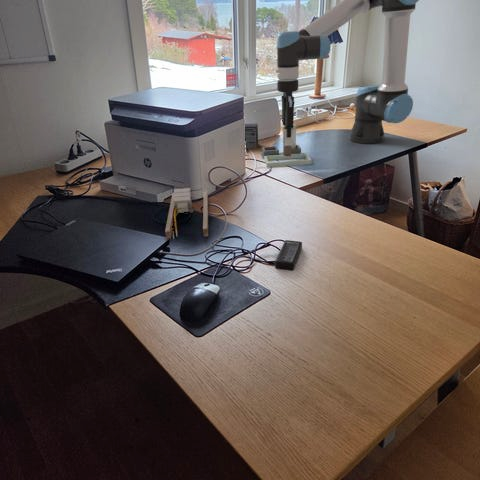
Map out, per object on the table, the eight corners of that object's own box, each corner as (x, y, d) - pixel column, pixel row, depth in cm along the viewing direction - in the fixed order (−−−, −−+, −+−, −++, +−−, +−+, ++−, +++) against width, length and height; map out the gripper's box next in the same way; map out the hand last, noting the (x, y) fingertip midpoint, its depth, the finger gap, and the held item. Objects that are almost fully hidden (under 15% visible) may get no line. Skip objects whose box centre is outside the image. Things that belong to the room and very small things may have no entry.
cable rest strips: (207, 197, 140) (207, 190, 139) (208, 236, 115) (207, 228, 114) (173, 199, 139) (172, 192, 138) (166, 239, 115) (165, 231, 113)
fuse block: (298, 153, 177) (298, 144, 175) (302, 158, 171) (302, 149, 169) (260, 156, 177) (260, 146, 175) (262, 161, 170) (262, 151, 169)
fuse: (295, 153, 175) (295, 123, 169) (296, 155, 172) (297, 125, 166) (287, 153, 175) (287, 124, 169) (288, 155, 172) (289, 126, 166)
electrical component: (194, 247, 117) (193, 232, 114) (173, 249, 117) (170, 234, 113) (192, 199, 135) (191, 185, 132) (173, 200, 135) (171, 187, 132)
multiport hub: (274, 269, 99) (274, 261, 98) (285, 247, 108) (285, 239, 107) (293, 272, 98) (293, 263, 97) (302, 249, 107) (302, 241, 106)
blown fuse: (290, 156, 166) (290, 125, 161) (292, 159, 163) (292, 127, 158) (282, 157, 166) (282, 126, 160) (283, 159, 163) (283, 128, 158)
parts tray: (306, 159, 170) (306, 153, 169) (311, 166, 162) (311, 160, 161) (264, 162, 170) (264, 155, 168) (267, 169, 162) (266, 163, 160)
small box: (258, 146, 190) (258, 122, 185) (257, 150, 184) (257, 126, 180) (235, 146, 191) (234, 123, 186) (233, 150, 186) (232, 126, 181)
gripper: (274, 77, 158) (274, 139, 169) (280, 83, 144) (281, 150, 155) (294, 75, 158) (293, 137, 169) (302, 82, 144) (301, 149, 155)
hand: (287, 143), depth 162 cm, fingers closed on blown fuse, 3 cm apart
